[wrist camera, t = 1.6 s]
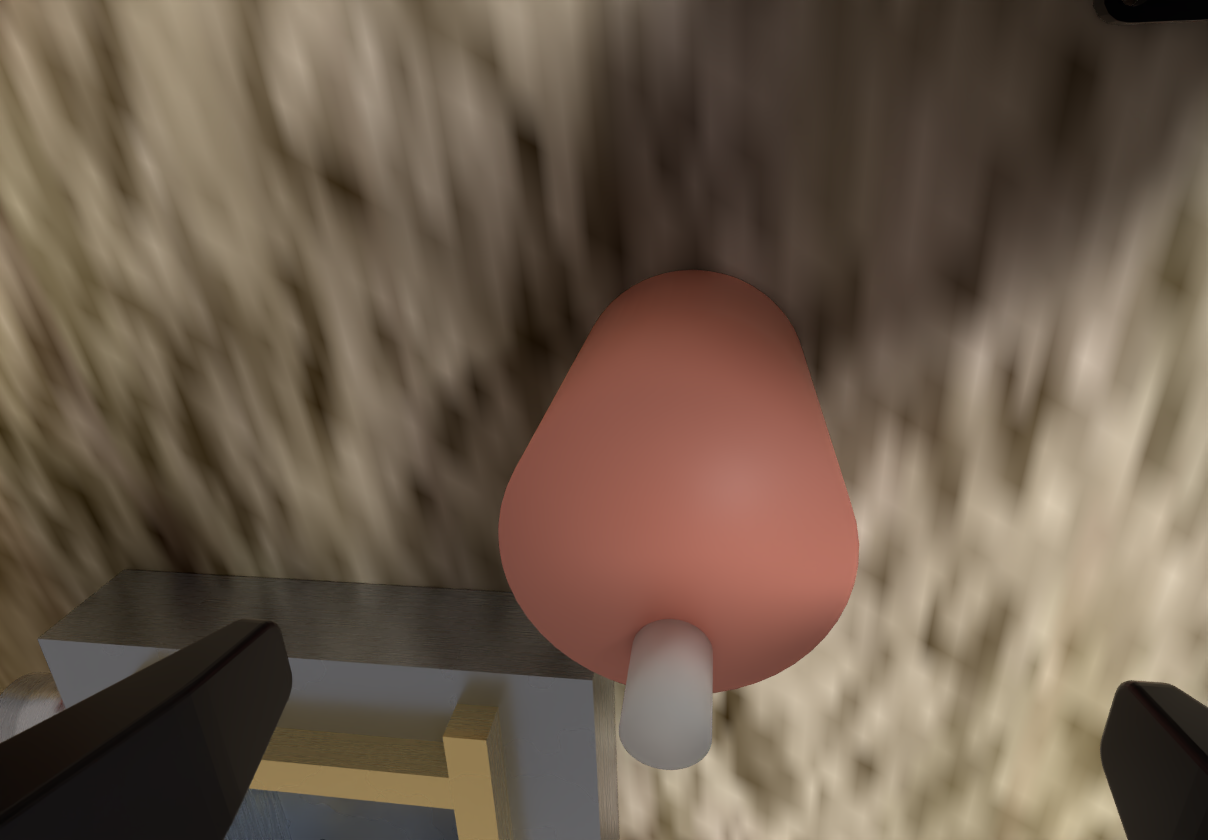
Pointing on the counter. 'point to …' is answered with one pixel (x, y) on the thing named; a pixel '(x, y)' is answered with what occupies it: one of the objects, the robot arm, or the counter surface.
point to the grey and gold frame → (370, 706)
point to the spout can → (682, 508)
